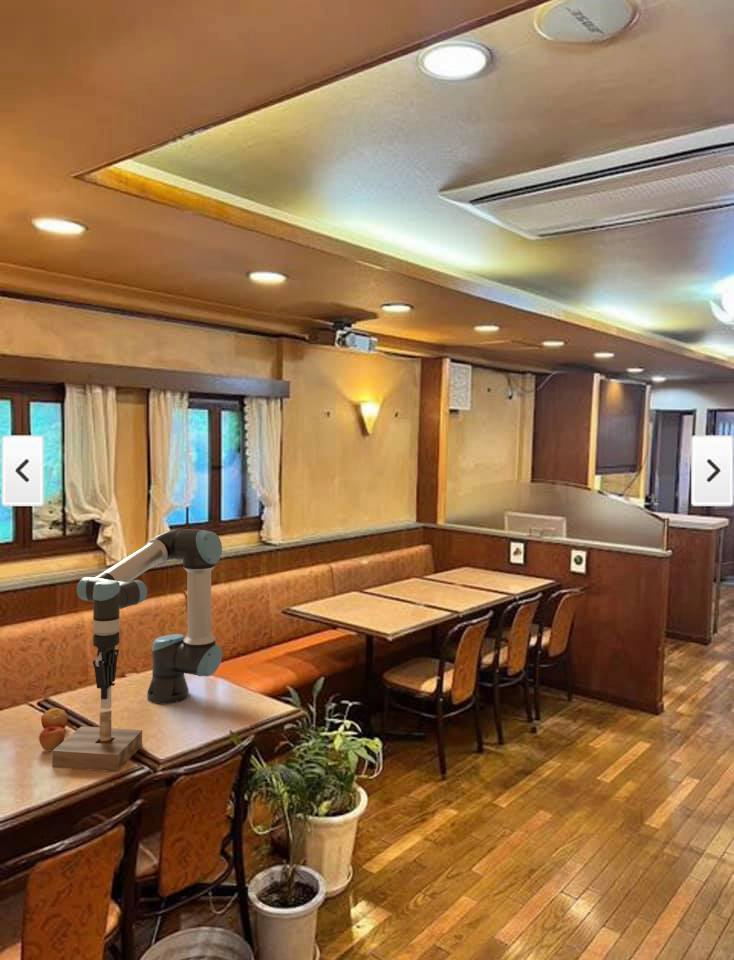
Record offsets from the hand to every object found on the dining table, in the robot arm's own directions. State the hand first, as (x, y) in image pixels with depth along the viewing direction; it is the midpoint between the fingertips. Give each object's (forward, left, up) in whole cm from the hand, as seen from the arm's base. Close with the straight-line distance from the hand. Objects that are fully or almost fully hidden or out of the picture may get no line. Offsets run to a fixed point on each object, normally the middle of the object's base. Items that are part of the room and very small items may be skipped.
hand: (106, 707), depth 215 cm
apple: (-2, -18, -15) cm, 24 cm away
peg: (0, 0, -15) cm, 15 cm away
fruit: (-16, -25, -15) cm, 33 cm away
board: (0, -2, -15) cm, 15 cm away
